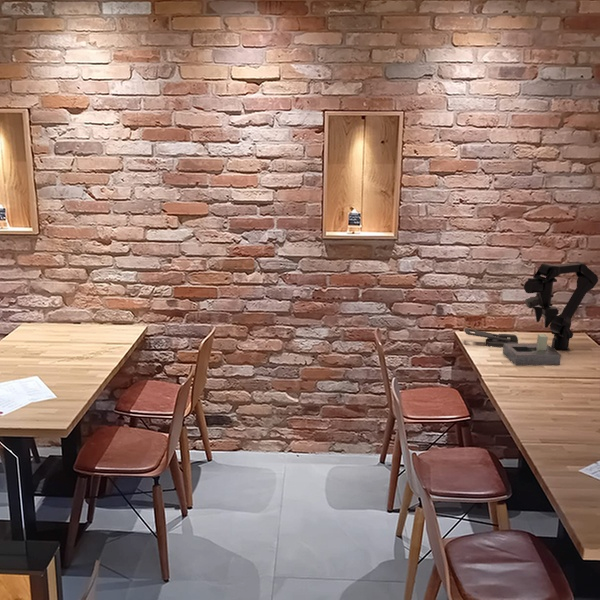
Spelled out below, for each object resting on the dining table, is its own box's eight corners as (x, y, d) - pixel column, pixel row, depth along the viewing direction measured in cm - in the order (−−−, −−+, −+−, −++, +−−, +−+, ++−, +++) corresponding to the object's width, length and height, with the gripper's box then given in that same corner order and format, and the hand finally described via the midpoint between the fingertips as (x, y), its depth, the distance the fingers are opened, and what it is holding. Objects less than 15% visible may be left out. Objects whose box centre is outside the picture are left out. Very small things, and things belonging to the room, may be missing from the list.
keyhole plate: (544, 353, 332) (546, 343, 331) (559, 364, 317) (561, 354, 316) (502, 353, 331) (503, 343, 329) (515, 365, 315) (516, 355, 314)
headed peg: (543, 354, 327) (546, 333, 324) (548, 358, 322) (551, 337, 319) (532, 354, 326) (534, 333, 324) (537, 358, 321) (539, 337, 319)
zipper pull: (463, 327, 347) (517, 329, 345) (462, 340, 349) (515, 343, 346) (465, 332, 339) (520, 335, 336) (464, 346, 340) (519, 349, 338)
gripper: (520, 286, 335) (517, 319, 339) (536, 296, 317) (532, 330, 321) (543, 286, 336) (540, 319, 340) (561, 296, 318) (557, 330, 322)
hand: (541, 324), depth 331 cm, fingers open, 9 cm apart
